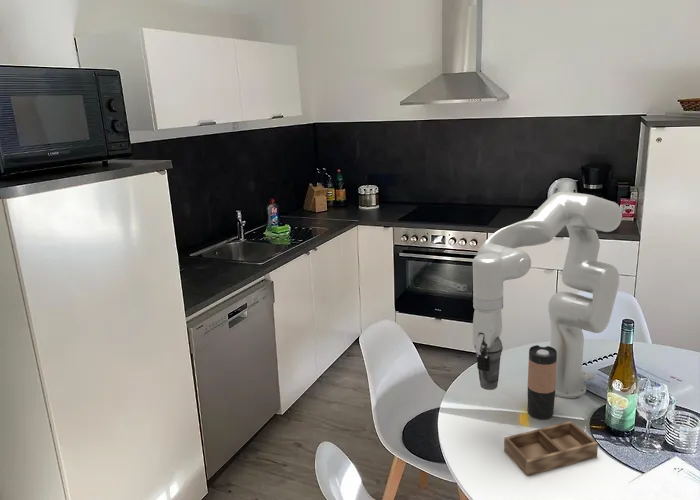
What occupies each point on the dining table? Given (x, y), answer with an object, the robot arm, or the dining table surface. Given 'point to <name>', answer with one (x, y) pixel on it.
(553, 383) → the travel mug
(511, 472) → the dining table surface
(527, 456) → the tray
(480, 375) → the beverage cup
